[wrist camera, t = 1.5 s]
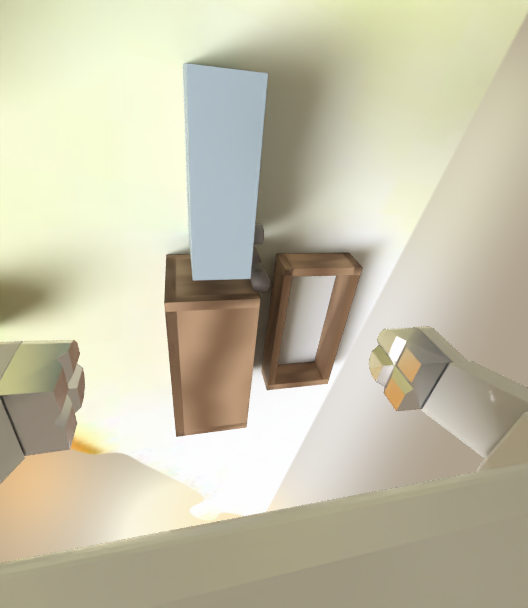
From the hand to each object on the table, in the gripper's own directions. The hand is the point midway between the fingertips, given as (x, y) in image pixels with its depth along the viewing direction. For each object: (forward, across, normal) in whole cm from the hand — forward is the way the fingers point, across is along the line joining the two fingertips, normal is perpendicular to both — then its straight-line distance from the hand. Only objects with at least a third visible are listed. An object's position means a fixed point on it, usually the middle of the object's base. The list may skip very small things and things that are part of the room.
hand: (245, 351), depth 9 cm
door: (+21, -1, -1) cm, 21 cm away
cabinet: (+21, -7, +14) cm, 27 cm away
